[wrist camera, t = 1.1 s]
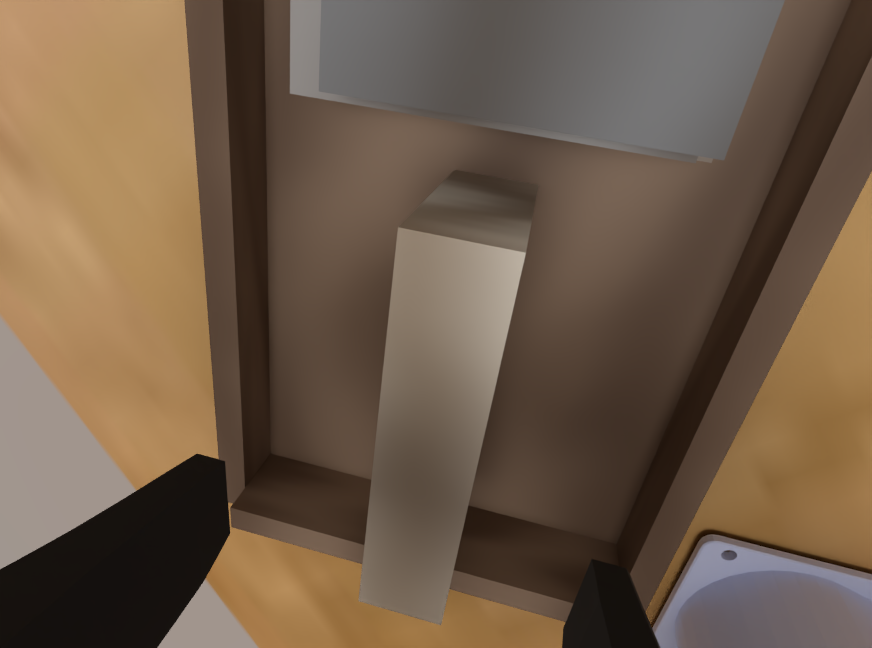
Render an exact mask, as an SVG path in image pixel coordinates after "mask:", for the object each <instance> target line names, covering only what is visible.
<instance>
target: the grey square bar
mask: <svg viewBox="0 0 872 648" xmlns="http://www.w3.org/2000/svg"><path fill="white" fill-rule="evenodd" d="M784 1H785V0H290V94H296V95H301V96H307V97H313V98H319V99H325V100H330V101H336V102H342V103H348V104H354V105H359V106H365V107H371V108H377V109H383V110H389V111H394V112H400V113H406V114H412V115H418V116H423V117H429V118H435V119H441V120H447V121H453V122H458V123H464V124H470V125H476V126H482V127H487V128H493V129H499V130H505V131H511V132H516V133H522V134H528V135H534V136H540V137H546V138H551V139H557V140H563V141H569V142H575V143H580V144H586V145H592V146H598V147H604V148H609V149H615V150H621V151H627V152H633V153H639V154H644V155H650V156H656V157H662V158H668V159H673V160H679V161H685V162H691V163H696V161H703V162H709V163H712V160H713V159H718V160H724V159H725V156H726V154H727V151H728V148H729V146H730V143H731V141H732V138H733V135H734V133H735V130H736V127H737V125H738V122H739V120H740V117H741V114H742V112H743V109H744V106H745V104H746V101H747V99H748V96H749V93H750V91H751V88H752V85H753V83H754V80H755V78H756V75H757V72H758V70H759V67H760V64H761V62H762V59H763V57H764V54H765V51H766V49H767V46H768V43H769V41H770V38H771V36H772V33H773V30H774V28H775V25H776V22H777V20H778V17H779V15H780V12H781V9H782V7H783V4H784Z"/></svg>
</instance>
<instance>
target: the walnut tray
mask: <svg viewBox="0 0 872 648" xmlns="http://www.w3.org/2000/svg"><path fill="white" fill-rule="evenodd" d="M185 13H186V27H187V40H188V53H189V67H190V80H191V94H192V107H193V120H194V134H195V147H196V160H197V174H198V187H199V200H200V214H201V227H202V241H203V254H204V267H205V281H206V294H207V307H208V321H209V334H210V348H211V361H212V374H213V388H214V401H215V414H216V428H217V441H218V454H219V460H223V461H225V467H226V481H227V496H228V502H230V503H233V505H232V506H231V507H230V510H231V525H232V527H233V528H237V529H240V530H244V531H247V532H251V533H254V534H258V535H262V536H265V537H269V538H272V539H276V540H279V541H283V542H286V543H290V544H293V545H297V546H300V547H304V548H307V549H311V550H314V551H318V552H321V553H325V554H328V555H332V556H335V557H339V558H342V559H346V560H349V561H353V562H357V563H360V564H363V555H364V545H365V536H366V526H367V517H368V507H369V498H370V488H371V479H372V469H373V460H374V451H375V441H376V432H377V422H378V413H379V403H380V394H381V384H382V375H383V365H384V356H385V346H386V337H387V327H388V318H389V308H390V299H391V289H392V280H393V270H394V261H395V251H396V242H397V232H398V227H399V226H400V225H401V224H402V223H403V222H404V221H405V220H406V219H407V218H408V217H409V216H410V215H411V214H412V213H413V212H414V211H415V210H416V209H417V208H418V207H419V206H420V205H421V204H422V203H423V202H424V201H425V200H426V199H427V197H428V196H429V195H430V194H431V193H432V192H433V191H434V190H435V189H436V188H437V187H438V186H439V185H440V184H441V183H442V182H443V181H444V180H445V179H446V178H447V177H448V176H449V175H450V174H451V173H452V172H453V171H454V170H459V171H464V172H470V173H475V174H481V175H486V176H491V177H497V178H502V179H508V180H513V181H519V182H524V183H530V184H535V185H538V190H537V195H536V201H535V206H534V212H533V217H532V223H531V228H530V234H529V239H528V244H527V250H526V255H525V259H524V264H523V268H522V272H521V277H520V281H519V286H518V290H517V294H516V299H515V303H514V307H513V312H512V316H511V321H510V325H509V329H508V334H507V338H506V343H505V347H504V351H503V356H502V360H501V364H500V369H499V373H498V378H497V382H496V386H495V391H494V395H493V400H492V404H491V408H490V413H489V417H488V421H487V426H486V430H485V435H484V439H483V443H482V448H481V452H480V456H479V461H478V465H477V470H476V474H475V478H474V483H473V487H472V492H471V496H470V500H469V505H468V509H467V513H466V518H465V522H464V527H463V531H462V535H461V540H460V544H459V549H458V553H457V557H456V562H455V566H454V570H453V575H452V579H451V584H450V588H449V589H452V590H455V591H459V592H462V593H466V594H469V595H473V596H476V597H480V598H483V599H487V600H490V601H494V602H497V603H501V604H504V605H508V606H511V607H515V608H518V609H522V610H525V611H529V612H532V613H536V614H539V615H543V616H547V617H550V618H554V619H557V620H561V621H564V622H566V621H567V618H568V616H569V613H570V611H571V608H572V606H573V603H574V601H575V598H576V596H577V594H578V591H579V589H580V586H581V584H582V581H583V579H584V576H585V574H586V571H587V569H588V567H589V564H590V562H591V559H594V560H598V561H602V562H606V563H609V564H613V565H617V566H621V567H624V568H626V569H627V570H628V572H629V573H630V575H631V578H632V581H633V583H634V586H635V588H636V591H637V593H638V596H639V598H640V601H641V603H642V606H643V608H644V610H645V611H646V610H647V608H648V606H649V604H650V602H651V600H652V598H653V596H654V594H655V592H656V590H657V588H658V586H659V584H660V582H661V580H662V578H663V576H664V574H665V573H666V571H667V569H668V567H669V565H670V563H671V561H672V559H673V557H674V555H675V553H676V551H677V549H678V547H679V545H680V543H681V541H682V539H683V537H684V536H685V534H686V532H687V530H688V528H689V526H690V524H691V522H692V520H693V518H694V516H695V514H696V512H697V510H698V508H699V506H700V504H701V502H702V500H703V498H704V497H705V495H706V493H707V491H708V489H709V487H710V485H711V483H712V481H713V479H714V477H715V475H716V473H717V471H718V469H719V467H720V465H721V463H722V461H723V460H724V458H725V456H726V454H727V452H728V450H729V448H730V446H731V444H732V442H733V440H734V438H735V436H736V434H737V432H738V430H739V428H740V426H741V424H742V423H743V421H744V419H745V417H746V415H747V413H748V411H749V409H750V407H751V405H752V403H753V401H754V399H755V397H756V395H757V393H758V391H759V389H760V387H761V386H762V384H763V382H764V380H765V378H766V376H767V374H768V372H769V370H770V368H771V366H772V364H773V362H774V360H775V358H776V356H777V354H778V352H779V350H780V349H781V347H782V345H783V343H784V341H785V339H786V337H787V335H788V333H789V331H790V329H791V327H792V325H793V323H794V321H795V319H796V317H797V315H798V313H799V312H800V310H801V308H802V306H803V304H804V302H805V300H806V298H807V296H808V294H809V292H810V290H811V288H812V286H813V284H814V282H815V280H816V278H817V276H818V275H819V273H820V271H821V269H822V267H823V265H824V263H825V261H826V259H827V257H828V255H829V253H830V251H831V249H832V247H833V245H834V243H835V241H836V239H837V237H838V236H839V234H840V232H841V230H842V228H843V226H844V224H845V222H846V220H847V218H848V216H849V214H850V212H851V210H852V208H853V206H854V204H855V202H856V200H857V199H858V197H859V195H860V193H861V191H862V189H863V187H864V185H865V183H866V181H867V179H868V177H869V175H870V173H871V171H872V0H785V1H784V4H783V7H782V9H781V12H780V15H779V17H778V20H777V22H776V25H775V28H774V30H773V33H772V36H771V38H770V41H769V43H768V46H767V49H766V51H765V54H764V57H763V59H762V62H761V64H760V67H759V70H758V72H757V75H756V78H755V80H754V83H753V85H752V88H751V91H750V93H749V96H748V99H747V101H746V104H745V106H744V109H743V112H742V114H741V117H740V120H739V122H738V125H737V127H736V130H735V133H734V135H733V138H732V141H731V143H730V146H729V148H728V151H727V154H726V156H725V159H724V160H718V159H713V160H712V163H709V162H703V161H696V163H691V162H685V161H679V160H673V159H668V158H662V157H656V156H650V155H644V154H639V153H633V152H627V151H621V150H615V149H609V148H604V147H598V146H592V145H586V144H580V143H575V142H569V141H563V140H557V139H551V138H546V137H540V136H534V135H528V134H522V133H516V132H511V131H505V130H499V129H493V128H487V127H482V126H476V125H470V124H464V123H458V122H453V121H447V120H441V119H435V118H429V117H423V116H418V115H412V114H406V113H400V112H394V111H389V110H383V109H377V108H371V107H365V106H359V105H354V104H348V103H342V102H336V101H330V100H325V99H319V98H313V97H307V96H301V95H296V94H290V0H185Z"/></svg>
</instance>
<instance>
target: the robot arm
mask: <svg viewBox="0 0 872 648" xmlns="http://www.w3.org/2000/svg"><path fill="white" fill-rule="evenodd" d="M229 534H230V525H229V510H228V496H227V481H226V467H225V461H223V460H219V459H215V458H211V457H208V456H204V455H200V454H196V455H194V456H192V457H191V458H189V459H187V460H186V461H184V462H182V463H181V464H179V465H178V466H176V467H174V468H173V469H171V470H169V471H168V472H166V473H165V474H163V475H161V476H160V477H158V478H156V479H155V480H153V481H152V482H150V483H148V484H147V485H145V486H144V487H142V488H140V489H139V490H137V491H136V492H134V493H132V494H131V495H129V496H128V497H126V498H124V499H123V500H121V501H119V502H118V503H116V504H114V505H113V506H111V507H109V508H108V509H106V510H104V511H103V512H101V513H99V514H98V515H96V516H94V517H93V518H91V519H89V520H88V521H86V522H84V523H83V524H81V525H79V526H78V527H76V528H74V529H72V530H71V531H69V532H67V533H65V534H64V535H62V536H60V537H58V538H56V539H55V540H53V541H51V542H50V543H48V544H46V545H44V546H42V547H40V548H38V549H37V550H35V551H33V552H31V553H29V554H28V555H26V556H24V557H22V558H21V559H19V560H17V561H15V562H13V563H11V564H9V565H8V566H6V567H4V568H2V569H0V648H157V647H158V646H159V644H160V643H161V641H162V640H163V639H164V637H165V636H166V634H167V633H168V632H169V630H170V629H171V627H172V626H173V625H174V623H175V622H176V620H177V619H178V617H179V616H180V615H181V613H182V612H183V610H184V609H185V607H186V606H187V605H188V603H189V602H190V600H191V599H192V598H193V596H194V595H195V593H196V591H197V590H198V589H199V587H200V586H201V584H202V583H203V581H204V580H205V578H206V576H207V574H208V572H209V571H210V569H211V567H212V565H213V564H214V562H215V560H216V558H217V556H218V555H219V553H220V551H221V549H222V547H223V545H224V543H225V542H226V540H227V538H228V536H229ZM726 550H732V551H729V552H724V551H726ZM562 648H872V574H869V573H865V572H861V571H857V570H853V569H849V568H845V567H841V566H837V565H834V564H830V563H826V562H822V561H818V560H814V559H810V558H806V557H802V556H798V555H794V554H790V553H786V552H783V551H779V550H775V549H771V548H767V547H763V546H759V545H755V544H751V543H747V542H743V541H739V540H735V539H732V538H728V537H724V536H720V535H714V534H711V535H706V536H704V537H702V538H701V539H700V540H699V542H698V544H697V546H696V547H695V549H694V551H693V553H692V555H691V557H690V559H689V560H688V562H687V564H686V566H685V568H684V570H683V572H682V574H681V575H680V577H679V579H678V581H677V583H676V585H675V587H674V588H673V590H672V592H671V594H670V596H669V598H668V600H667V602H666V603H665V605H664V607H663V609H662V611H661V613H660V615H659V616H658V618H657V620H656V622H655V624H654V626H653V628H652V627H651V625H650V622H649V620H648V618H647V615H646V613H645V610H644V608H643V606H642V603H641V601H640V598H639V596H638V593H637V591H636V588H635V586H634V583H633V581H632V578H631V575H630V573H629V572H628V570H627V569H626V568H624V567H621V566H617V565H613V564H609V563H606V562H602V561H598V560H594V559H591V562H590V564H589V567H588V569H587V571H586V574H585V576H584V579H583V581H582V584H581V586H580V589H579V591H578V594H577V596H576V598H575V601H574V603H573V606H572V608H571V611H570V613H569V616H568V618H567V621H566V623H565V625H564V629H563V645H562Z"/></svg>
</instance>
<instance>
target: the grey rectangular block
mask: <svg viewBox="0 0 872 648" xmlns="http://www.w3.org/2000/svg"><path fill="white" fill-rule="evenodd" d="M537 190H538V185H535V184H530V183H524V182H519V181H513V180H508V179H502V178H497V177H491V176H486V175H481V174H475V173H470V172H464V171H459V170H454V171H453V172H452V173H451V174H450V175H449V176H448V177H447V178H446V179H445V180H444V181H443V182H442V183H441V184H440V185H439V186H438V187H437V188H436V189H435V190H434V191H433V192H432V193H431V194H430V195H429V196H428V197H427V199H426V200H425V201H424V202H423V203H422V204H421V205H420V206H419V207H418V208H417V209H416V210H415V211H414V212H413V213H412V214H411V215H410V216H409V217H408V218H407V219H406V220H405V221H404V222H403V223H402V224H401V225H400V226H399V227H398V232H397V242H396V251H395V261H394V270H393V280H392V289H391V299H390V308H389V318H388V327H387V337H386V346H385V356H384V365H383V375H382V384H381V394H380V403H379V413H378V422H377V432H376V441H375V451H374V460H373V469H372V479H371V488H370V498H369V507H368V517H367V526H366V536H365V545H364V555H363V564H362V574H361V583H360V593H359V601H360V602H364V603H367V604H371V605H374V606H377V607H381V608H384V609H388V610H391V611H394V612H398V613H401V614H405V615H408V616H411V617H415V618H418V619H422V620H425V621H428V622H432V623H435V624H439V625H441V623H442V619H443V614H444V610H445V605H446V601H447V597H448V592H449V588H450V584H451V579H452V575H453V570H454V566H455V562H456V557H457V553H458V549H459V544H460V540H461V535H462V531H463V527H464V522H465V518H466V513H467V509H468V505H469V500H470V496H471V492H472V487H473V483H474V478H475V474H476V470H477V465H478V461H479V456H480V452H481V448H482V443H483V439H484V435H485V430H486V426H487V421H488V417H489V413H490V408H491V404H492V400H493V395H494V391H495V386H496V382H497V378H498V373H499V369H500V364H501V360H502V356H503V351H504V347H505V343H506V338H507V334H508V329H509V325H510V321H511V316H512V312H513V307H514V303H515V299H516V294H517V290H518V286H519V281H520V277H521V272H522V268H523V264H524V259H525V255H526V250H527V244H528V239H529V234H530V228H531V223H532V217H533V212H534V206H535V201H536V195H537Z"/></svg>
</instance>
